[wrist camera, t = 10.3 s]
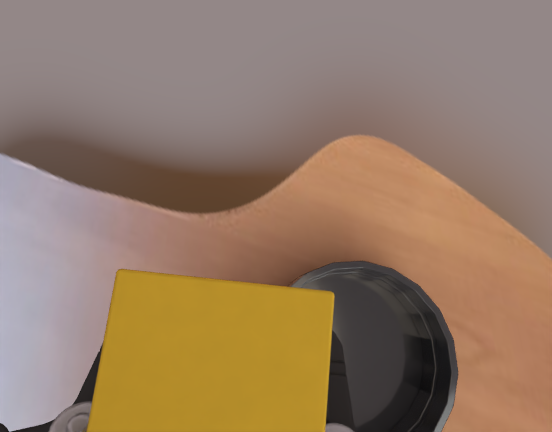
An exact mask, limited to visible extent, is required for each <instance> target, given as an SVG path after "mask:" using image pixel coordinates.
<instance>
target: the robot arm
mask: <svg viewBox="0 0 552 432" xmlns="http://www.w3.org/2000/svg"><path fill="white" fill-rule="evenodd" d="M102 347H103V344H102V346H101V348H100V352H98V354H97V357H96V359H95V361H94V363H93V365H92V367H91V369H90V371H89V374H88V376H87V378H86V380H85V382H84V384H83V386H82V388H81V391H80V393H79V395H78V397H77V399H76V400H75V402H74V403H73V405H72V406H70V407H68V408H67V409H65V410H64V411H63V412H61V413H60V414H59V415H58V416H57V417H56V419H54V420H52V421H50V422H48V423H45V424H42V425H38V426H34V427H29V428H25V429H20V430H16V431H11V432H87V427H88V422H89V416H90V411H91V406H92V400H93V395H94V389H95V384H96V379H97V373H98V368H99V363H100V357H101V352H102ZM346 373H347V372H346V365H345V359H344V352H343V345H342V344H341V342H340V340H339V339H338V337H337V335H336V334H335V332H334V331H332V339H331V353H330V368H329V383H328V397H327V412H326V426H325V432H357V431H356V428H355V424H354V419H353V412H352V406H351V399H350V392H349V386H348V379H347V376H346ZM0 432H9V431H8V429H7V428H6V427H5V426H4V425H3V424H1V423H0Z"/></svg>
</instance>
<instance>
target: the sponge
mask: <svg viewBox="0 0 552 432" xmlns="http://www.w3.org/2000/svg"><path fill="white" fill-rule="evenodd" d="M333 310H334V293H333V292H331V291H324V290H314V289H305V288H296V287H286V286H277V285H268V284H258V283H249V282H239V281H230V280H221V279H211V278H202V277H193V276H183V275H174V274H164V273H155V272H146V271H136V270H127V269H119V270H118V271H117V272H116V277H115V282H114V288H113V293H112V298H111V304H110V309H109V314H108V320H107V325H106V331H105V336H104V341H103V347H102V352H101V357H100V363H99V368H98V373H97V379H96V384H95V389H94V395H93V400H92V406H91V411H90V416H89V422H88V427H87V432H325V426H326V412H327V397H328V383H329V368H330V353H331V339H332V324H333Z"/></svg>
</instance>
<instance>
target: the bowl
mask: <svg viewBox="0 0 552 432" xmlns="http://www.w3.org/2000/svg"><path fill="white" fill-rule="evenodd" d="M287 287H296V288H305V289H314V290H324V291H331V292H333V293H334V310H333V324H332V331H334V332H335V334H336V335H337V337H338V339H339V340H340V342H341V344H342V345H343V352H344V359H345V365H346V372H347V373H346V376H347V379H348V386H349V392H350V399H351V406H352V412H353V419H354V424H355V428H356V431H357V432H441V431H442V429H443V427H444V425H445V423H446V421H447V419H448V417H449V415H450V413H451V411H452V408H453V406H454V400H455V393H456V386H457V379H458V367H457V360H456V353H455V346H454V340H453V337H452V335H451V333H450V331H449V328H448V326H447V324H446V322H445V320H444V317H443V315H442V313H441V311H440V309H439V308H438V307H437V306H436V305H435V303H434V302H433V301H432V300H431V299H430V298H429V296H428V295H427V294H426V293H425V292H424V291H423V289H422V288H421V287H420V286H419V285H418V284H416V283H414V282H413V281H411V280H410V279H408V278H407V277H405V276H403V275H402V274H400V273H399V272H397V271H396V270H394V269H392V268H388V267H385V266H381V265H377V264H373V263H370V262H366V261H351V262H334V263H331V264H328V265H326V266H323V267H321V268H318V269H316V270H313V271H311V272H308V273H306V274H303V275H301V276H299V277H298V278H296V279H295V280H294V281H293V282H291V283H290V284H289V285H288V286H287Z"/></svg>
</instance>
